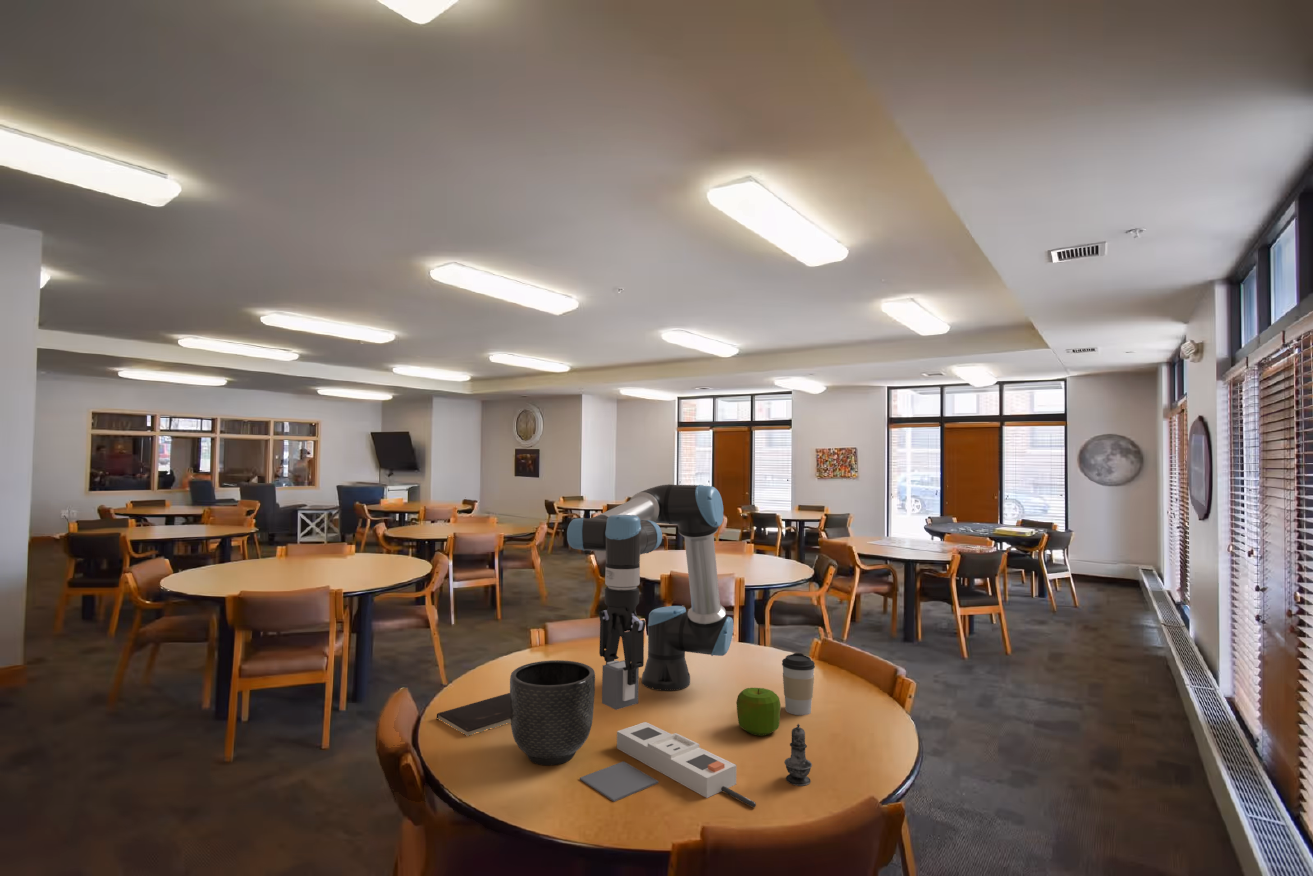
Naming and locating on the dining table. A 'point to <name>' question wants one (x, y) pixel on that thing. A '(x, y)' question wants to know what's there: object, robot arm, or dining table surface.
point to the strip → (680, 760)
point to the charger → (616, 686)
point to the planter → (551, 709)
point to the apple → (758, 711)
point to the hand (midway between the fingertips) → (620, 695)
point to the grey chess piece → (798, 759)
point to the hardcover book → (479, 715)
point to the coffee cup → (798, 683)
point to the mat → (618, 781)
